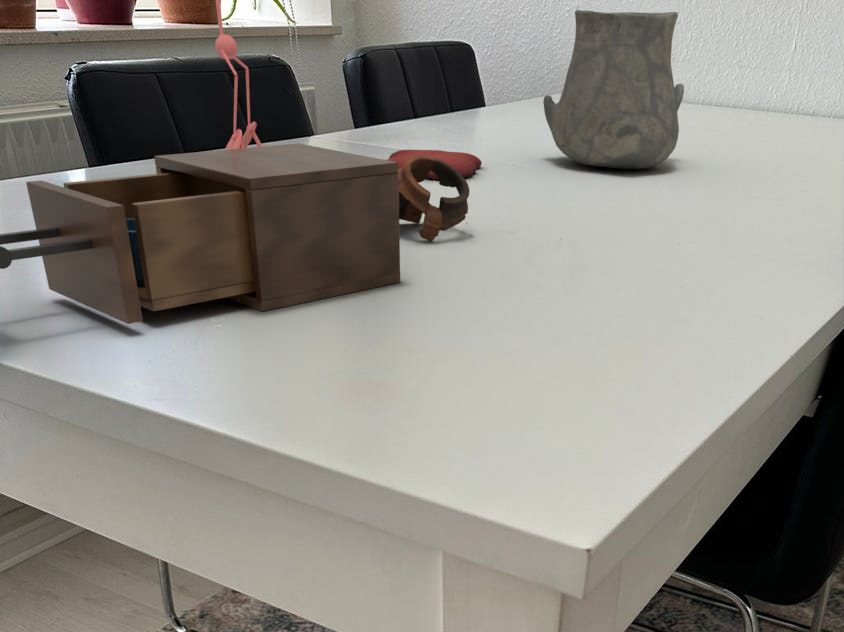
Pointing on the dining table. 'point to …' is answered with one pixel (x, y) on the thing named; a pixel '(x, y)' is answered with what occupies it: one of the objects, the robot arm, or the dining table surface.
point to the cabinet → (308, 218)
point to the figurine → (235, 87)
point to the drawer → (139, 241)
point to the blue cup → (135, 251)
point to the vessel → (618, 92)
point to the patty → (457, 160)
